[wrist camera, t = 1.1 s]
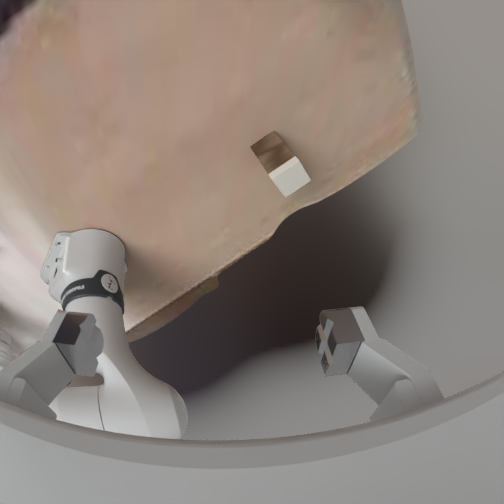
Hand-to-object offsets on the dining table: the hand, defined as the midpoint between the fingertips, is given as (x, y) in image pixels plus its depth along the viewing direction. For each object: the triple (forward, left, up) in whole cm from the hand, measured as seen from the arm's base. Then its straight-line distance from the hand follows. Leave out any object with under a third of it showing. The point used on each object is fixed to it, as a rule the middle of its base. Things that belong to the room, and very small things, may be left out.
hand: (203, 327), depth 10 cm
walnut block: (+5, -25, -37) cm, 45 cm away
